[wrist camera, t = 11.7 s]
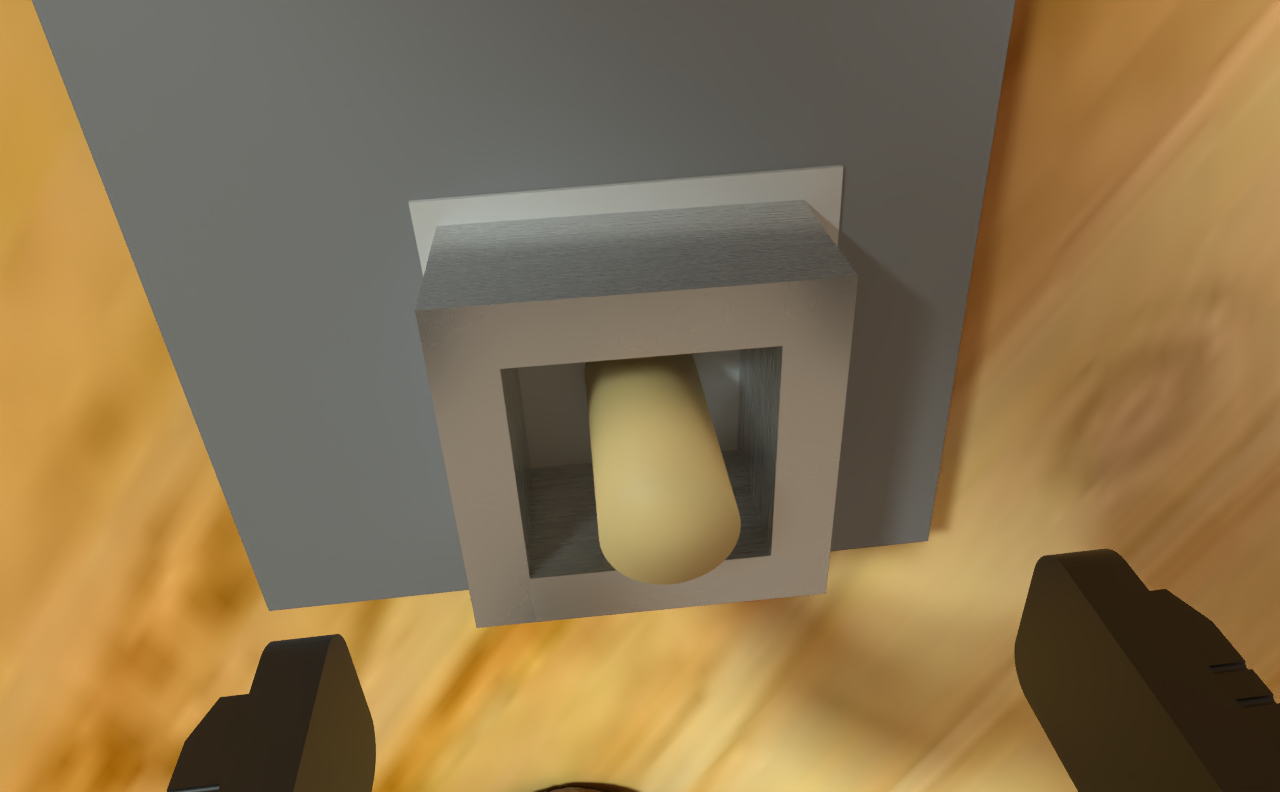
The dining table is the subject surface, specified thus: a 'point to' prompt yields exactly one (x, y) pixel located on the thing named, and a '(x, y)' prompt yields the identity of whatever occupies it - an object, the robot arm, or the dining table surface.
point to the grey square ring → (633, 328)
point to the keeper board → (517, 190)
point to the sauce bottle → (574, 790)
